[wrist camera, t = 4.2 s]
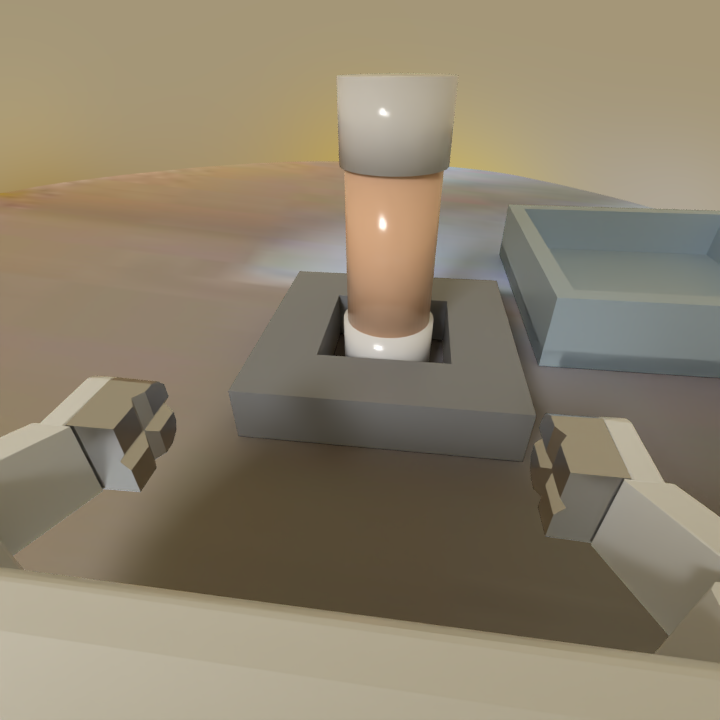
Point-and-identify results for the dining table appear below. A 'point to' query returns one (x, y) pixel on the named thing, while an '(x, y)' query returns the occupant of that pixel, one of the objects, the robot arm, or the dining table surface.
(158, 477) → the dining table surface
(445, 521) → the dining table surface
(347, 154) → the cylinder
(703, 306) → the parts tray
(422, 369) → the fuse holder
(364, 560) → the dining table surface
